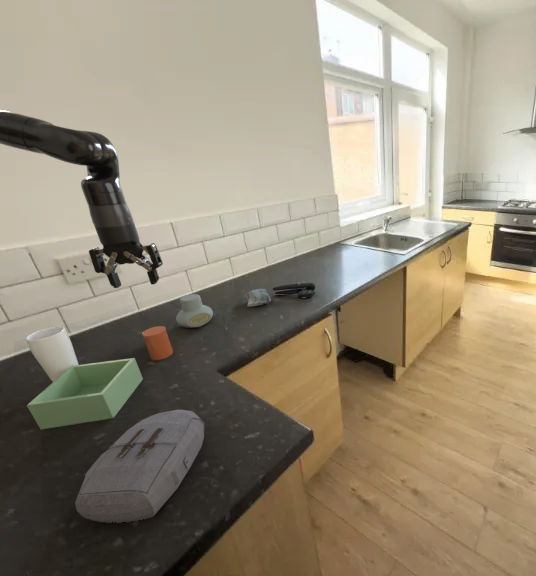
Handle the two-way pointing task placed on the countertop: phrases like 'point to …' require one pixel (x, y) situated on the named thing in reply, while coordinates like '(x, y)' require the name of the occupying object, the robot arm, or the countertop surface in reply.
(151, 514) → the small grey backpack
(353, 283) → the countertop surface
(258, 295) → the packaged food
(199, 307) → the air freshener
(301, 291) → the can opener
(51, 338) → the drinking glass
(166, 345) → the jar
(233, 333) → the countertop surface
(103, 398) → the box
